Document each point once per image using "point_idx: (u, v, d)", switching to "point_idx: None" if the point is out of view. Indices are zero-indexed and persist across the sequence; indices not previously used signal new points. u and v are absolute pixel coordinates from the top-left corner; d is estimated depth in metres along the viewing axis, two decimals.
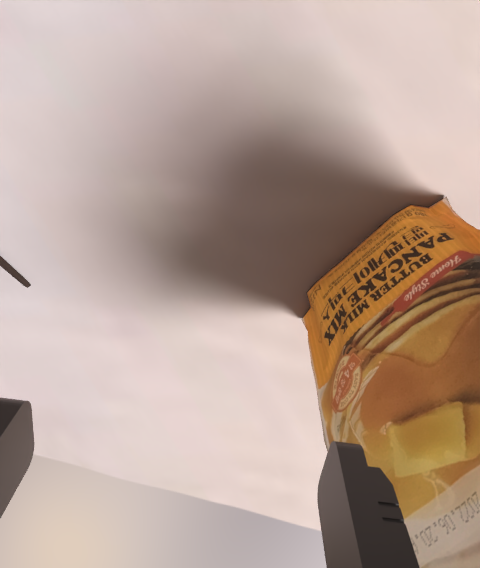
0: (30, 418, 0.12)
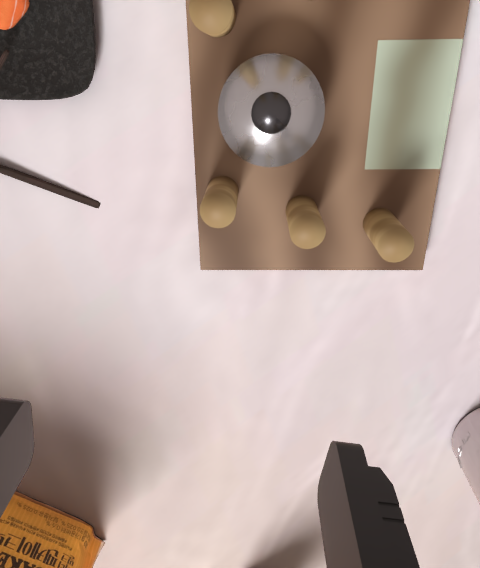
0: (30, 418, 0.12)
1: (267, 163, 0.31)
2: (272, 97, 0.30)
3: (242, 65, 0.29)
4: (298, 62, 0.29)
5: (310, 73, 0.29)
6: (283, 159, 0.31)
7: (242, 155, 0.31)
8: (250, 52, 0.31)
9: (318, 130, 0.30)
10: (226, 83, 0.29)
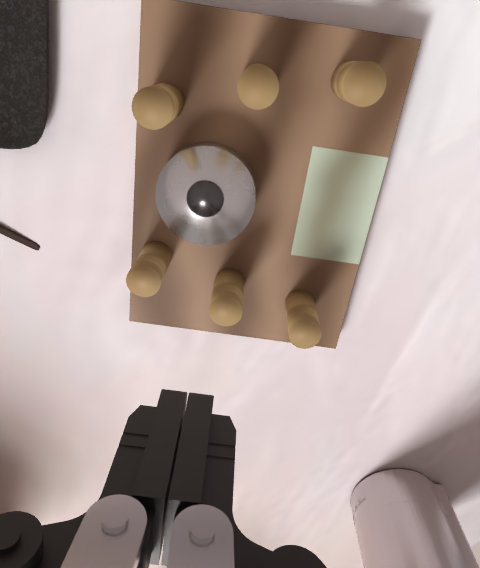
0: (185, 408, 0.13)
1: (198, 241, 0.33)
2: (207, 185, 0.32)
3: (182, 153, 0.31)
4: (234, 159, 0.31)
5: (244, 170, 0.31)
6: (213, 240, 0.33)
7: (175, 231, 0.33)
8: (194, 137, 0.33)
9: (247, 220, 0.33)
10: (166, 166, 0.31)
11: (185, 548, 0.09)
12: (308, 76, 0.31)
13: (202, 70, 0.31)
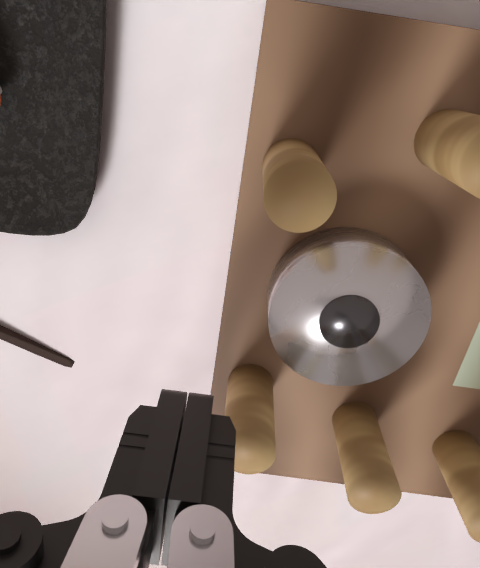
0: (185, 408, 0.13)
1: (328, 379, 0.21)
2: (355, 303, 0.20)
3: (321, 255, 0.19)
4: (406, 264, 0.19)
5: (420, 281, 0.19)
6: (352, 379, 0.21)
7: (293, 365, 0.21)
8: (328, 221, 0.21)
9: (412, 352, 0.21)
10: (291, 274, 0.19)
11: (185, 548, 0.09)
12: None
13: (355, 119, 0.19)
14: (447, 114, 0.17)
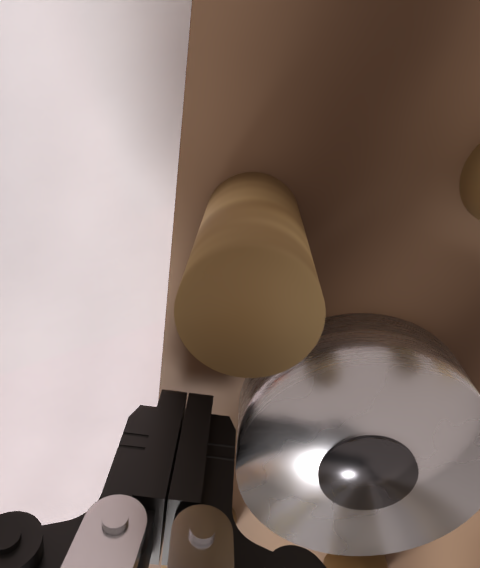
0: (185, 408, 0.13)
1: (332, 547, 0.14)
2: (378, 446, 0.12)
3: (322, 377, 0.11)
4: (467, 392, 0.11)
5: None
6: (370, 547, 0.14)
7: (278, 528, 0.13)
8: None
9: (467, 514, 0.13)
10: (272, 405, 0.11)
11: (185, 548, 0.08)
12: None
13: (360, 141, 0.11)
14: None
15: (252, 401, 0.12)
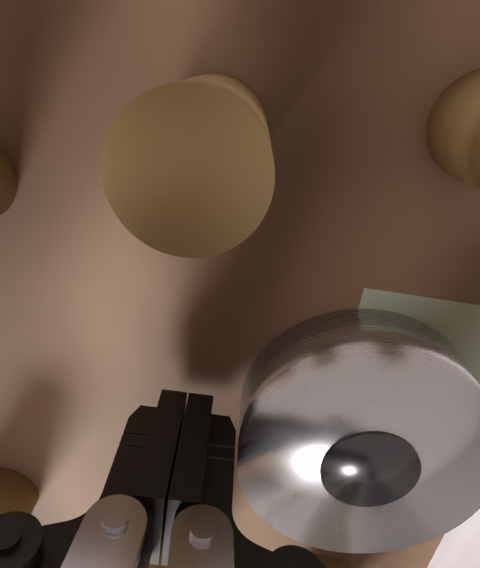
0: (185, 408, 0.13)
1: (336, 545, 0.14)
2: (379, 442, 0.12)
3: (322, 373, 0.11)
4: (468, 386, 0.11)
5: None
6: (374, 544, 0.13)
7: (281, 527, 0.13)
8: (57, 262, 0.12)
9: (471, 510, 0.13)
10: (272, 402, 0.11)
11: (185, 548, 0.09)
12: (362, 111, 0.11)
13: (55, 91, 0.11)
14: None
15: (253, 399, 0.12)
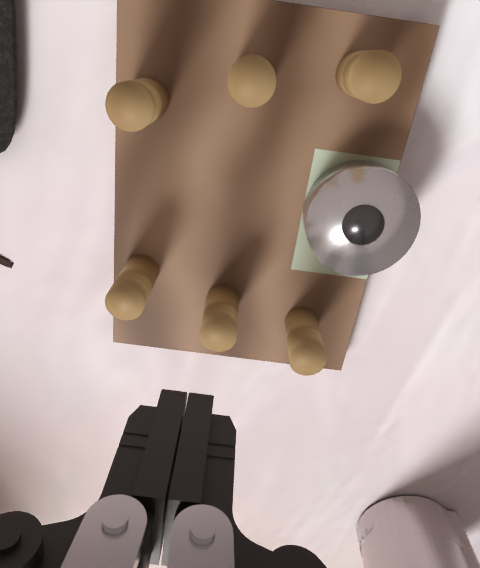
0: (185, 408, 0.13)
1: (349, 271, 0.30)
2: (366, 210, 0.28)
3: (342, 176, 0.27)
4: (401, 180, 0.27)
5: (411, 192, 0.27)
6: (366, 269, 0.30)
7: (324, 261, 0.30)
8: (181, 139, 0.29)
9: (408, 246, 0.29)
10: (322, 191, 0.28)
11: (185, 548, 0.09)
12: (310, 69, 0.27)
13: (189, 63, 0.27)
14: None
15: (312, 197, 0.29)
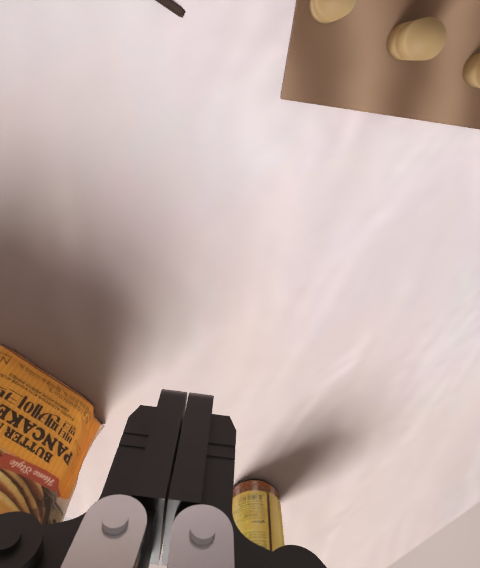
0: (185, 408, 0.13)
1: None
2: None
3: None
4: None
5: None
6: None
7: None
8: None
9: None
10: None
11: (185, 548, 0.09)
12: None
13: None
14: None
15: None
